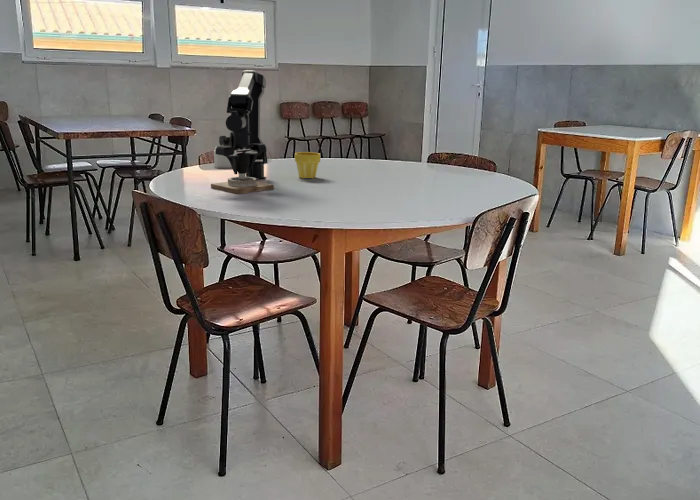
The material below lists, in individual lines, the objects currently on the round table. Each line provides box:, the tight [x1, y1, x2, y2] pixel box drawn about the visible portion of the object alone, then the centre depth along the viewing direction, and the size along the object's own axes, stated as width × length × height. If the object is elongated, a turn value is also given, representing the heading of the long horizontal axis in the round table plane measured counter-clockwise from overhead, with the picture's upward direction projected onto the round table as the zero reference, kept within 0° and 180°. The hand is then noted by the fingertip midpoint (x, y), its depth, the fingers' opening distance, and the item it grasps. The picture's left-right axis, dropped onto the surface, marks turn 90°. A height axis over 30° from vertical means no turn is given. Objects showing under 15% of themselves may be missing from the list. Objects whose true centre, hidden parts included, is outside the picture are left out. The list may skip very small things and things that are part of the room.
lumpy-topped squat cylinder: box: [213, 146, 239, 169], centre depth 282 cm, size 10×13×9 cm
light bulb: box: [237, 152, 250, 181], centre depth 225 cm, size 6×6×10 cm
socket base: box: [210, 176, 275, 195], centre depth 226 cm, size 16×16×4 cm
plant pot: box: [294, 151, 321, 179], centre depth 254 cm, size 10×10×10 cm
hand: (242, 173), depth 225 cm, fingers closed on light bulb, 5 cm apart
